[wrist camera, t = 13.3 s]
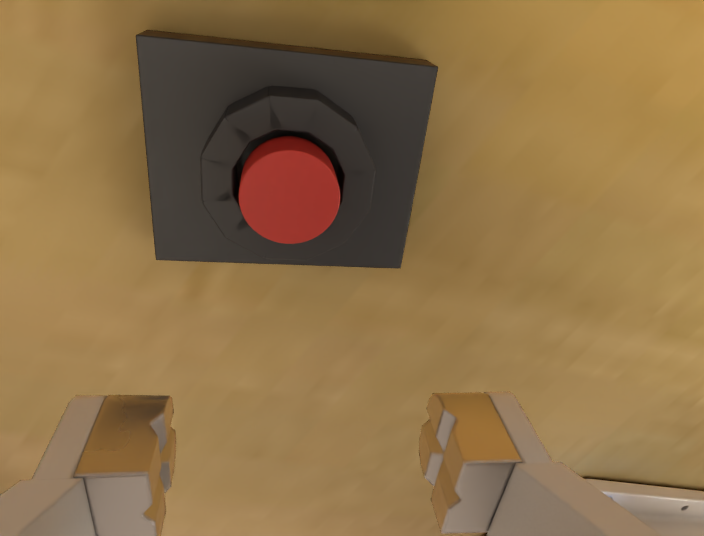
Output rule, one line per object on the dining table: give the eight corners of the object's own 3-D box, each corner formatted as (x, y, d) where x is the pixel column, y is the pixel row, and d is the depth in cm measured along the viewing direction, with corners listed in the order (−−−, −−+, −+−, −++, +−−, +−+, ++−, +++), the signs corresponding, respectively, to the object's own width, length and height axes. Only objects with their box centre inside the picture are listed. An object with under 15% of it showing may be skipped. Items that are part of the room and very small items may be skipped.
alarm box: (427, 59, 21) (452, 74, 18) (393, 251, 25) (409, 289, 22) (146, 29, 19) (121, 40, 16) (163, 242, 23) (146, 282, 20)
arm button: (339, 139, 19) (345, 153, 17) (331, 226, 21) (335, 246, 19) (241, 131, 18) (238, 146, 17) (241, 222, 20) (238, 242, 18)
